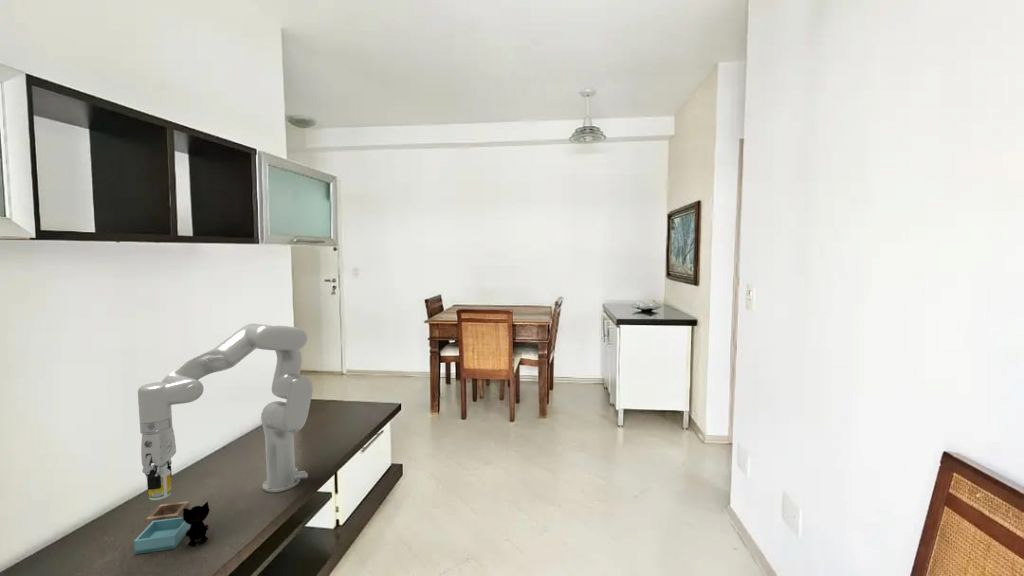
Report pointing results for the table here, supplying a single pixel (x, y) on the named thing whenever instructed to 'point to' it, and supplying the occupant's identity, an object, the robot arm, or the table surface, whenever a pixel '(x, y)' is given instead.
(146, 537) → the tray
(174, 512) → the hollow wooden block
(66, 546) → the table surface
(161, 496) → the supplement bottle
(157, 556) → the table surface
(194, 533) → the cat figurine
